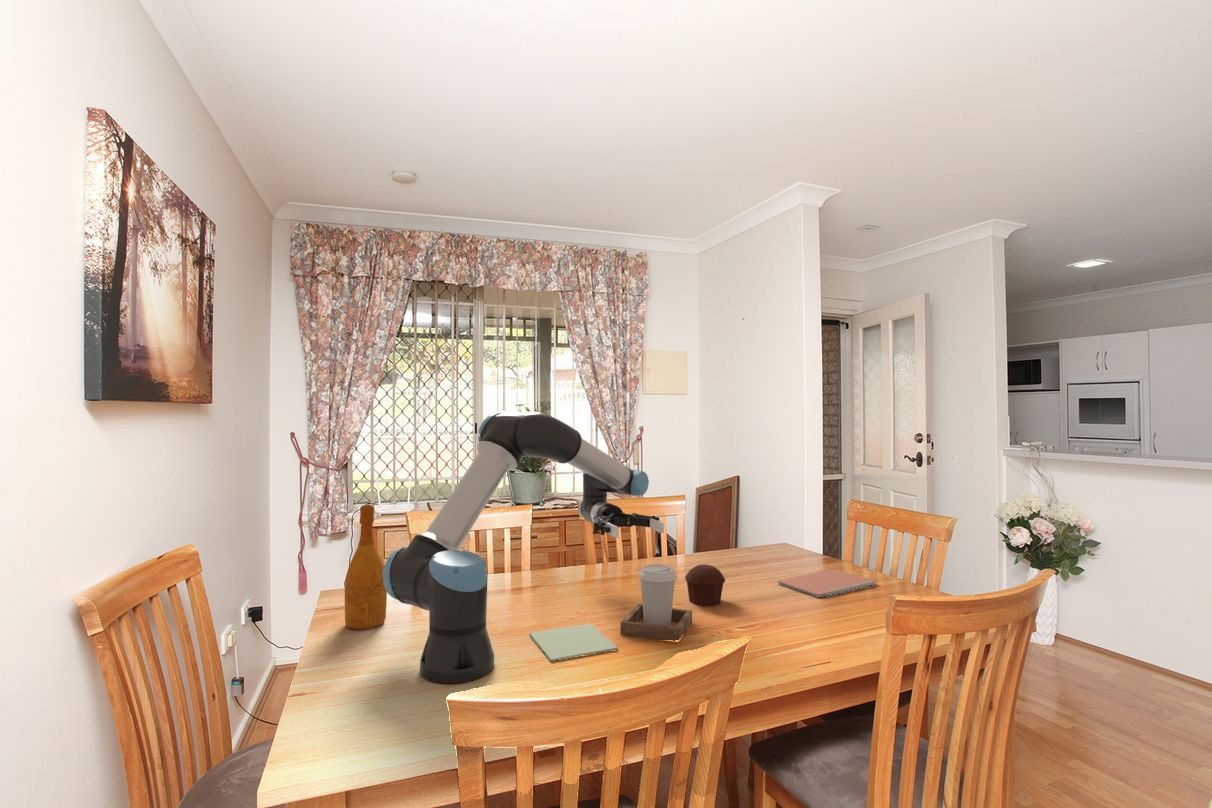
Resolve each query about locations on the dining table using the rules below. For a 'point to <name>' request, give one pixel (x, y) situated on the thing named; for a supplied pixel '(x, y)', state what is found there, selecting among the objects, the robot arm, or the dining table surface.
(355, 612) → the wine bottle
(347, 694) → the dining table surface
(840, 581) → the notebook
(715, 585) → the muffin
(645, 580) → the coffee cup
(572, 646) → the mat
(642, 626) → the square tray
